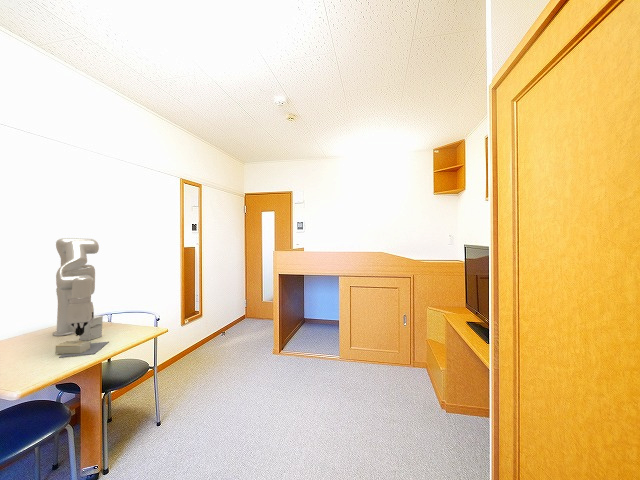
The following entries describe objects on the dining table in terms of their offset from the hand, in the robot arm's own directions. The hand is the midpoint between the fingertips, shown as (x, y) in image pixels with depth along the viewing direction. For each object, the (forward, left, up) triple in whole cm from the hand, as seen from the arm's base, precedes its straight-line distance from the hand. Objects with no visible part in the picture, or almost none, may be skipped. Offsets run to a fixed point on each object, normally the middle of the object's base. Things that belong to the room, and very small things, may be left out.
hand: (79, 334), depth 129 cm
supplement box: (-19, -3, -8) cm, 21 cm away
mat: (0, +3, -8) cm, 9 cm away
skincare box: (0, -8, -6) cm, 9 cm away
